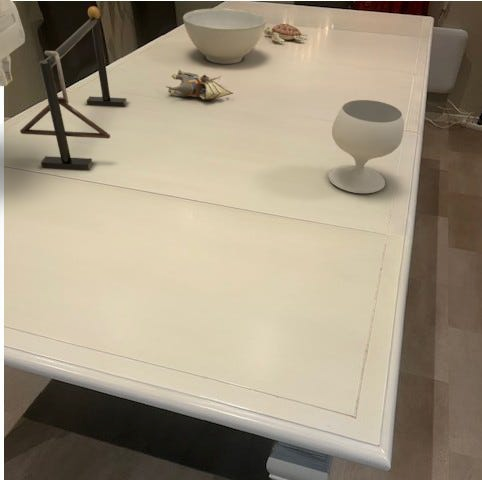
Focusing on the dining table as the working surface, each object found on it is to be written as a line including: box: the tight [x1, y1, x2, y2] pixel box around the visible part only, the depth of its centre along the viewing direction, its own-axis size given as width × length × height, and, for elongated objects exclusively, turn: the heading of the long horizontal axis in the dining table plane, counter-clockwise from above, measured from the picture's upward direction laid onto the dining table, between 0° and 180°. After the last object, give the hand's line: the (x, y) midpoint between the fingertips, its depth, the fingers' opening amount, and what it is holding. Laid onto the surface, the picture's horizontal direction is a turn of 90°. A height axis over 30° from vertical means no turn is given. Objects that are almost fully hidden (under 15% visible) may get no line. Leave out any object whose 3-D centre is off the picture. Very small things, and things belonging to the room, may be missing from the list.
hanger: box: [19, 50, 111, 139], centre depth 96 cm, size 1×19×16 cm, turn 88°
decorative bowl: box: [182, 7, 267, 65], centre depth 160 cm, size 27×27×12 cm
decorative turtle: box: [263, 23, 308, 43], centre depth 183 cm, size 18×17×5 cm
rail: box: [38, 17, 98, 171], centre depth 109 cm, size 38×10×21 cm, turn 178°
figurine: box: [165, 69, 234, 101], centre depth 135 cm, size 20×6×17 cm
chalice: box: [328, 99, 405, 194], centre depth 99 cm, size 14×14×15 cm
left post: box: [86, 5, 128, 108], centre depth 122 cm, size 3×10×23 cm, turn 88°
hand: (5, 83), depth 90 cm, fingers closed
